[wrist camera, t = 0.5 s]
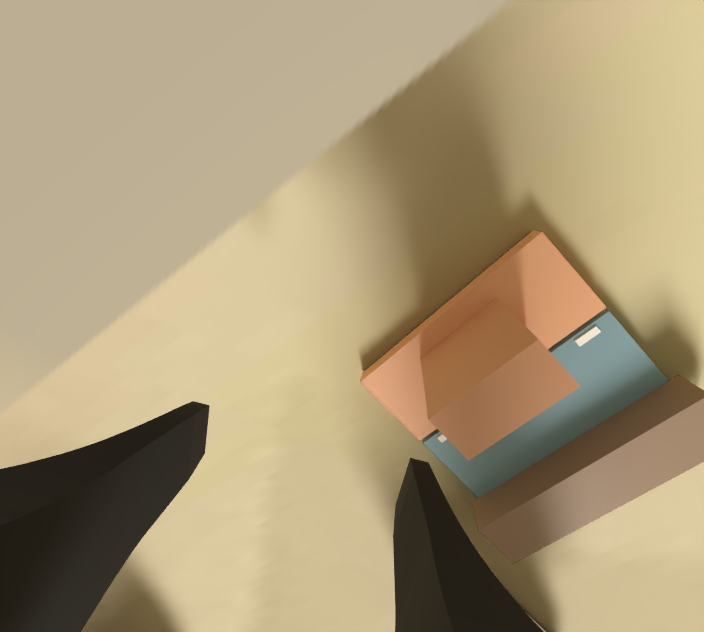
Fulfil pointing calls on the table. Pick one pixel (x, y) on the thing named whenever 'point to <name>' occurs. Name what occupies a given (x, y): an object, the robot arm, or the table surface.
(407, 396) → the stepped pink slab
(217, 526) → the table surface
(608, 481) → the block
